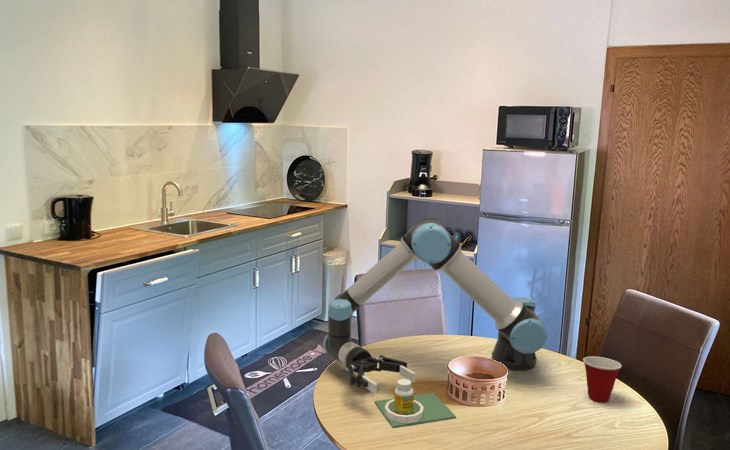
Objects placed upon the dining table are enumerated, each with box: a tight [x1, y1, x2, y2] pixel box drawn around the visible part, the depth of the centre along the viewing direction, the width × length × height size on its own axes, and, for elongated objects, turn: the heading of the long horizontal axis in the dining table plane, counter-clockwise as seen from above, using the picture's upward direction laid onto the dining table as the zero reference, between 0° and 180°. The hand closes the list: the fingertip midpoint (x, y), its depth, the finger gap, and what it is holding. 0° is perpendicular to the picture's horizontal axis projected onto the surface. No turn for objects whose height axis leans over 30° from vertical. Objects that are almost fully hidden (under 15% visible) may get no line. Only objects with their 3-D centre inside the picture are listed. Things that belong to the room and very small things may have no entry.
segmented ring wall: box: [385, 398, 424, 424], centre depth 162 cm, size 11×11×2 cm
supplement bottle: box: [394, 378, 415, 415], centre depth 161 cm, size 5×5×10 cm
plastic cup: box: [582, 355, 623, 404], centre depth 173 cm, size 11×11×12 cm
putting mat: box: [374, 392, 457, 429], centre depth 165 cm, size 19×15×1 cm
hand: (395, 383), depth 164 cm, fingers open, 13 cm apart
